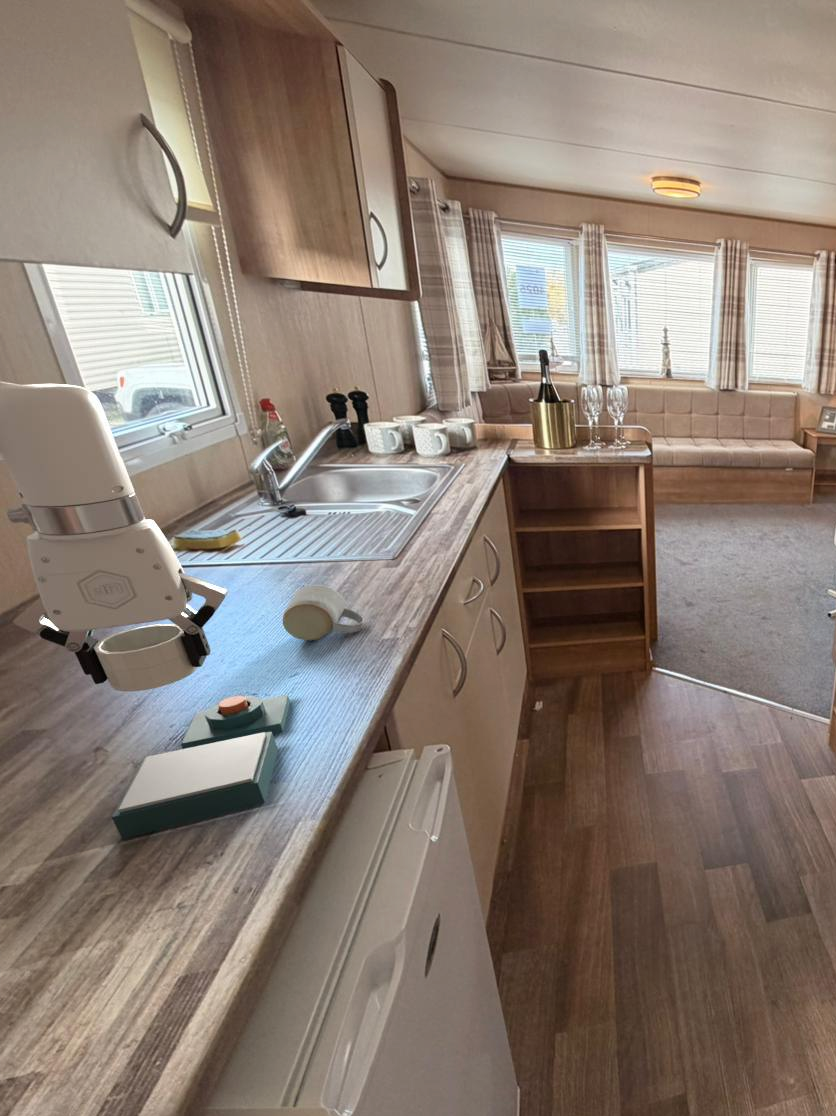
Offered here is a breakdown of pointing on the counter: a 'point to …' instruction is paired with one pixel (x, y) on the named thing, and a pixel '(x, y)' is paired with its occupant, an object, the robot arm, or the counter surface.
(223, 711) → the button
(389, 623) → the counter surface
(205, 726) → the pad
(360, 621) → the ceramic mug
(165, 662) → the bowl
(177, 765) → the scale
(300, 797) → the counter surface
